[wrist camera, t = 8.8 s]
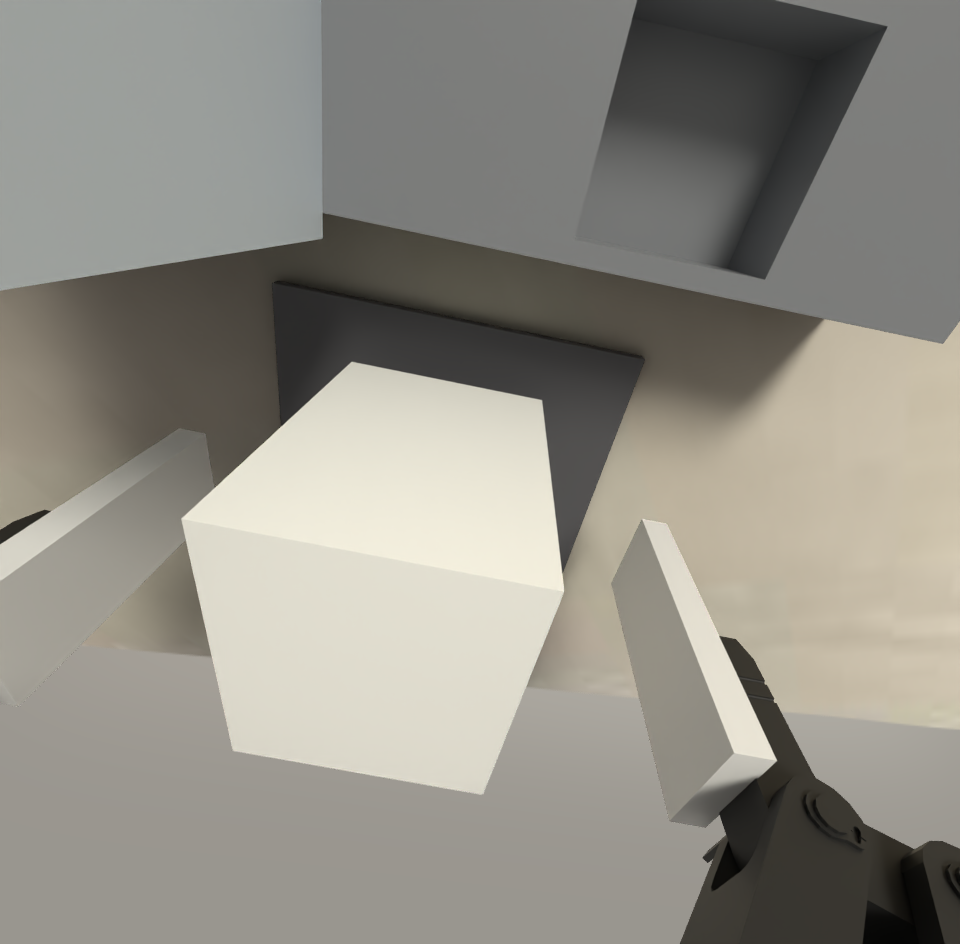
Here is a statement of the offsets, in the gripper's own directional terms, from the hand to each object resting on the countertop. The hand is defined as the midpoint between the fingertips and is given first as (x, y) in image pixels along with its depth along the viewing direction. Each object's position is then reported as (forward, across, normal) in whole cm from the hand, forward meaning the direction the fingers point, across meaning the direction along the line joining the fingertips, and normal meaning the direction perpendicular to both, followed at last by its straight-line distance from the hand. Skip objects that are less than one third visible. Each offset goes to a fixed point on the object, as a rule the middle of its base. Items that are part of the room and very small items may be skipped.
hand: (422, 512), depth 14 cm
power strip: (+4, 0, +10) cm, 11 cm away
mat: (+4, 0, 0) cm, 4 cm away
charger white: (+4, 0, 0) cm, 4 cm away
